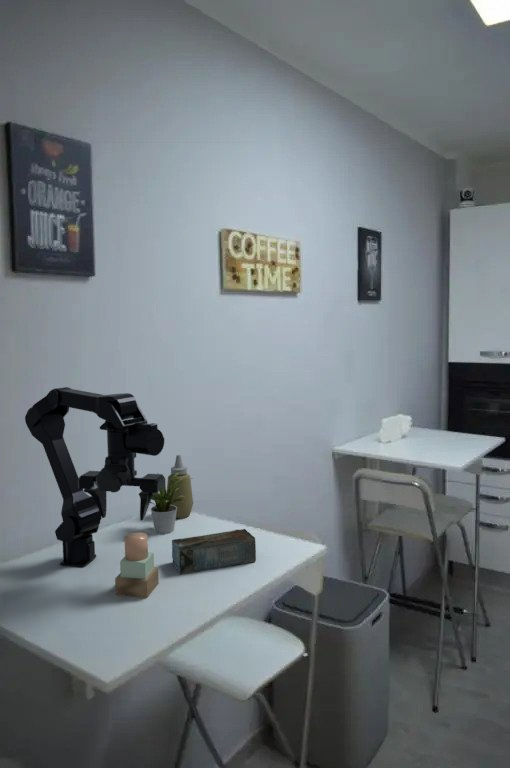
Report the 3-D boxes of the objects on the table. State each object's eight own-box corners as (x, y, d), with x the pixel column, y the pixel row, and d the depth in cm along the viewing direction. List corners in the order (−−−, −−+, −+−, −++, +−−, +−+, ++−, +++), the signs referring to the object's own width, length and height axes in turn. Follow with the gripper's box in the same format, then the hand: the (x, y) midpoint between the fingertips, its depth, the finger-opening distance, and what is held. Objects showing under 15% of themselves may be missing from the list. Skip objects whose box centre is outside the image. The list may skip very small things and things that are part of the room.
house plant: (196, 520, 177) (195, 464, 175) (194, 537, 163) (193, 477, 161) (145, 521, 176) (144, 465, 174) (139, 539, 162) (138, 478, 160)
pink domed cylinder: (121, 560, 130) (120, 539, 129) (130, 551, 135) (129, 531, 134) (142, 562, 129) (142, 541, 128) (151, 553, 134) (150, 533, 133)
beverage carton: (170, 562, 147) (170, 536, 146) (246, 551, 154) (246, 525, 153) (179, 575, 140) (178, 547, 139) (257, 563, 147) (257, 536, 146)
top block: (120, 577, 130) (120, 561, 129) (130, 566, 135) (129, 551, 135) (145, 578, 129) (145, 562, 128) (154, 568, 134) (153, 552, 134)
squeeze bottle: (160, 515, 181) (158, 455, 179) (182, 509, 187) (181, 451, 185) (177, 522, 176) (175, 460, 174) (199, 515, 181) (198, 455, 179)
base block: (115, 596, 130) (115, 578, 129) (128, 582, 137) (128, 565, 136) (147, 599, 128) (146, 580, 128) (158, 584, 135) (158, 567, 135)
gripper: (64, 457, 131) (66, 528, 133) (147, 460, 127) (148, 533, 129) (88, 446, 142) (90, 512, 144) (165, 449, 138) (167, 516, 140)
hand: (122, 518), depth 139 cm, fingers open, 9 cm apart
